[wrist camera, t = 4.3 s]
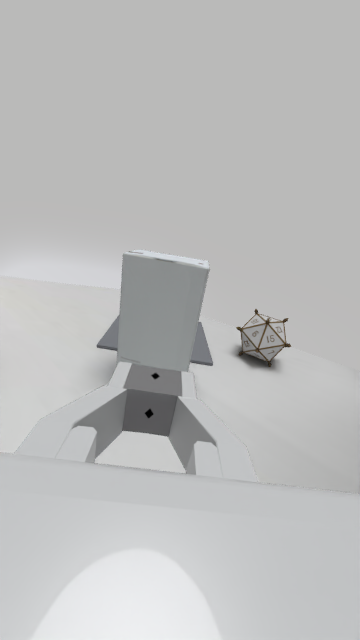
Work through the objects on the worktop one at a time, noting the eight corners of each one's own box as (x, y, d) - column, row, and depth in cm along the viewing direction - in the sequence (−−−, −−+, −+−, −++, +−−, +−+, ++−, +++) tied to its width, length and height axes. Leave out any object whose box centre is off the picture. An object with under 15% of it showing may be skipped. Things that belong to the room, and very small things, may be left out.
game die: (238, 370, 40) (226, 317, 42) (284, 362, 40) (271, 309, 42) (251, 373, 31) (236, 306, 33) (310, 363, 31) (292, 296, 33)
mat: (200, 323, 49) (200, 322, 48) (212, 365, 33) (212, 363, 32) (123, 310, 47) (123, 308, 47) (96, 347, 31) (97, 344, 31)
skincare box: (187, 372, 30) (213, 261, 25) (182, 401, 24) (214, 266, 19) (128, 357, 30) (142, 246, 25) (109, 383, 25) (122, 247, 20)
